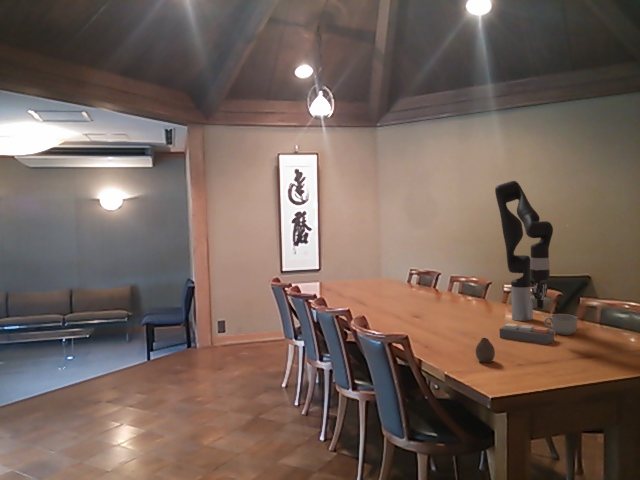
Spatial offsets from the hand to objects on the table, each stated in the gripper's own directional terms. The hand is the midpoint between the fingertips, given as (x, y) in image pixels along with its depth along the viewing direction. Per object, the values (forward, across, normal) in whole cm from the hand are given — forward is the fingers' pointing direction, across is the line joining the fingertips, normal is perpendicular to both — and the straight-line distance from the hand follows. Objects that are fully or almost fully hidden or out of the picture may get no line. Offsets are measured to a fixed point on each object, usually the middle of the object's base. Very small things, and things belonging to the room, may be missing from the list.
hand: (540, 308), depth 207 cm
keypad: (+14, 0, -6) cm, 16 cm away
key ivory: (+11, 0, -13) cm, 17 cm away
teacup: (+14, -19, +2) cm, 24 cm away
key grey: (+11, 0, -6) cm, 13 cm away
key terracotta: (+11, 0, 0) cm, 11 cm away
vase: (+15, +40, -6) cm, 43 cm away
